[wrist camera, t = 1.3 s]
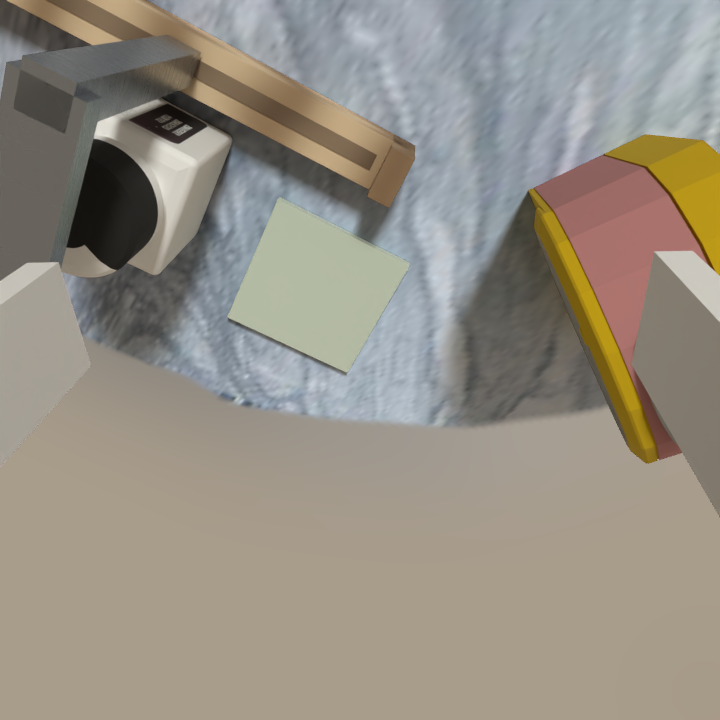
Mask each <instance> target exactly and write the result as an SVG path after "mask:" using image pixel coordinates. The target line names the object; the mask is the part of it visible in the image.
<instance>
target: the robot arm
mask: <svg viewBox="0 0 720 720" xmlns="http://www.w3.org/2000/svg"><path fill="white" fill-rule="evenodd" d="M90 366H91V363H90V360H89V357H88V354H87V351H86V348H85V344H84V341H83V338H82V335H81V332H80V329H79V325H78V322H77V319H76V316H75V313H74V309H73V306H72V303H71V300H70V297H69V294H68V290H67V287H66V284H65V281H64V278H63V275H62V271H61V268H60V265H59V262H44V263H26V264H25V265H23V266H22V267H20V268H19V269H17V270H16V271H14V272H13V273H11V274H10V275H8V276H7V277H5V278H4V279H3V280H1V281H0V467H1V466H2V465H3V464H4V463H5V461H6V460H7V459H8V458H9V457H10V456H11V455H12V453H14V451H15V450H16V449H17V448H18V447H19V446H20V445H21V444H22V442H23V441H24V440H25V439H26V438H27V437H28V436H29V435H30V433H31V432H32V431H33V430H34V429H35V428H36V427H37V426H38V424H39V423H40V422H41V421H42V420H43V419H44V418H45V417H46V415H47V414H48V413H49V412H50V411H51V410H52V409H53V407H54V406H55V405H56V404H57V403H58V402H59V401H60V400H61V399H62V397H63V396H64V395H65V394H66V393H67V392H68V391H69V390H70V388H71V387H72V386H73V385H74V384H75V383H76V382H77V380H78V379H79V378H80V377H81V376H82V375H83V374H84V373H85V372H86V370H87V369H88V368H89V367H90ZM632 366H633V368H634V370H635V372H636V373H637V375H638V377H639V379H640V380H641V382H642V384H643V385H644V387H645V389H646V391H647V392H648V394H649V396H650V398H651V399H652V401H653V403H654V404H655V406H656V408H657V410H658V411H659V413H660V415H661V417H662V418H663V420H664V422H665V423H666V425H667V427H668V429H669V430H670V432H671V434H672V436H673V437H674V439H675V441H676V442H677V444H678V446H679V448H680V449H681V451H682V453H683V455H684V456H685V458H686V460H687V461H688V463H689V465H690V467H691V468H692V470H693V472H694V474H695V475H696V477H697V479H698V480H699V482H700V484H701V485H702V487H703V489H704V491H705V493H706V494H707V496H708V498H709V499H710V501H711V503H712V505H713V506H714V508H715V510H716V511H717V513H718V514H719V517H720V276H719V275H718V274H717V273H716V272H715V271H714V270H713V269H712V268H711V267H710V266H709V265H707V264H706V263H705V262H704V261H703V260H702V259H701V258H700V257H699V256H698V255H697V254H696V253H694V252H693V251H654V255H653V260H652V265H651V270H650V275H649V280H648V285H647V290H646V295H645V300H644V305H643V310H642V315H641V320H640V325H639V330H638V335H637V340H636V345H635V350H634V355H633V360H632Z"/></svg>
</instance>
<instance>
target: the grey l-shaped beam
mask: <svg viewBox="0 0 720 720" xmlns="http://www.w3.org/2000/svg"><path fill="white" fill-rule="evenodd" d="M200 54H201V52H200V51H198V50H196V49H194V48H192V47H190V46H189V45H187V44H185V43H183V42H181V41H179V40H177V39H176V38H174V37H172V36H170V35H161V36H154V37H147V38H140V39H133V40H126V41H119V42H112V43H105V44H98V45H91V46H84V47H77V48H70V49H63V50H56V51H49V52H42V53H35V54H28V55H23V56H22V60H18V61H11V62H6V68H5V74H4V80H3V87H2V93H1V99H0V281H1V280H3V279H4V278H5V277H7V276H8V275H10V274H11V273H13V272H14V271H16V270H17V269H19V268H20V267H22V266H23V265H25V264H26V263H44V262H59V265H60V268H61V267H62V263H63V259H64V255H65V251H66V247H67V243H68V239H69V235H70V231H71V227H72V223H73V219H74V215H75V211H76V207H77V203H78V199H79V195H80V191H81V187H82V183H83V179H84V175H85V171H86V167H87V163H88V159H89V155H90V151H91V147H92V143H93V139H94V135H95V131H96V127H97V123H98V122H99V121H101V120H104V119H107V118H109V117H112V116H114V115H117V114H120V113H122V112H125V111H127V110H130V109H133V108H135V107H138V106H140V105H143V104H146V103H148V102H151V101H153V100H156V99H159V98H161V97H164V96H167V95H169V94H172V93H174V92H177V91H180V90H182V89H185V88H187V87H190V86H191V83H192V80H193V76H194V73H195V70H196V67H197V64H198V61H199V58H200Z"/></svg>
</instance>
